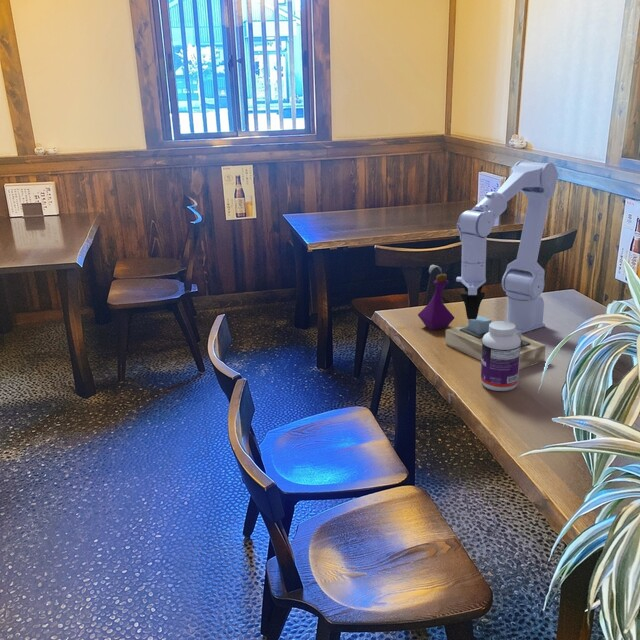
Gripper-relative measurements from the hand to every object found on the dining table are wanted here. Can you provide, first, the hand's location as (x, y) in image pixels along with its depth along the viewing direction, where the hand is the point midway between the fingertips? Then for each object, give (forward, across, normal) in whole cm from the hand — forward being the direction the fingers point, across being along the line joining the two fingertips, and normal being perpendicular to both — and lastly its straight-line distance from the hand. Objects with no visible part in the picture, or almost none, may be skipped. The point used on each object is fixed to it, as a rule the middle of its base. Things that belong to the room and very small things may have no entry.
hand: (472, 313), depth 154 cm
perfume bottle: (+10, -15, -10) cm, 21 cm away
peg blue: (+7, -3, +2) cm, 8 cm away
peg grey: (+7, +4, +9) cm, 12 cm away
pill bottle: (+10, +19, +6) cm, 23 cm away
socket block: (+10, +1, +5) cm, 11 cm away
